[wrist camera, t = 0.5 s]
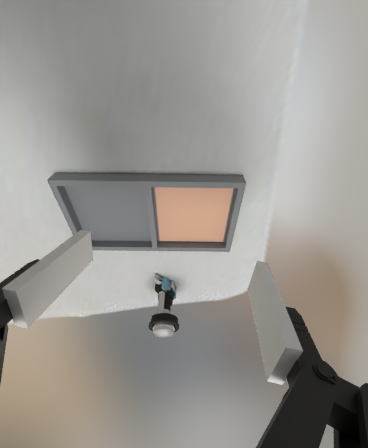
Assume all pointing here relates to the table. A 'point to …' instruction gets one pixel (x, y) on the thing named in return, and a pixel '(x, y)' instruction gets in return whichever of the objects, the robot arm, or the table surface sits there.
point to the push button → (164, 309)
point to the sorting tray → (151, 209)
